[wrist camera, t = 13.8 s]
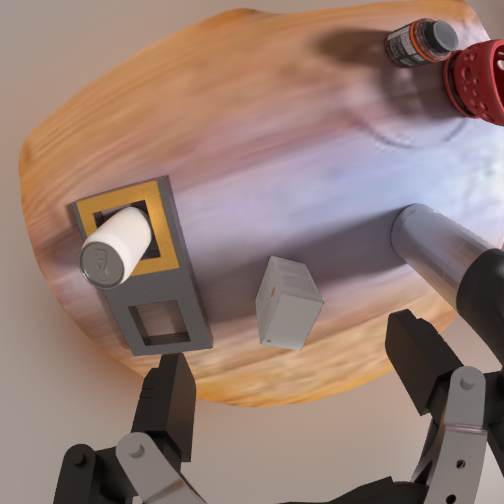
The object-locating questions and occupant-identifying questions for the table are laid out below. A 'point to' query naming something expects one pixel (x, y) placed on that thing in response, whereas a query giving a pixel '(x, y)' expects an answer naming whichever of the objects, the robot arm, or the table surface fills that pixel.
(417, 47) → the supplement bottle
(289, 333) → the small box
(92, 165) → the table surface
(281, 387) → the table surface
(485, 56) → the plant pot
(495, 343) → the robot arm
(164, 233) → the grey slotted tray
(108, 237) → the can
